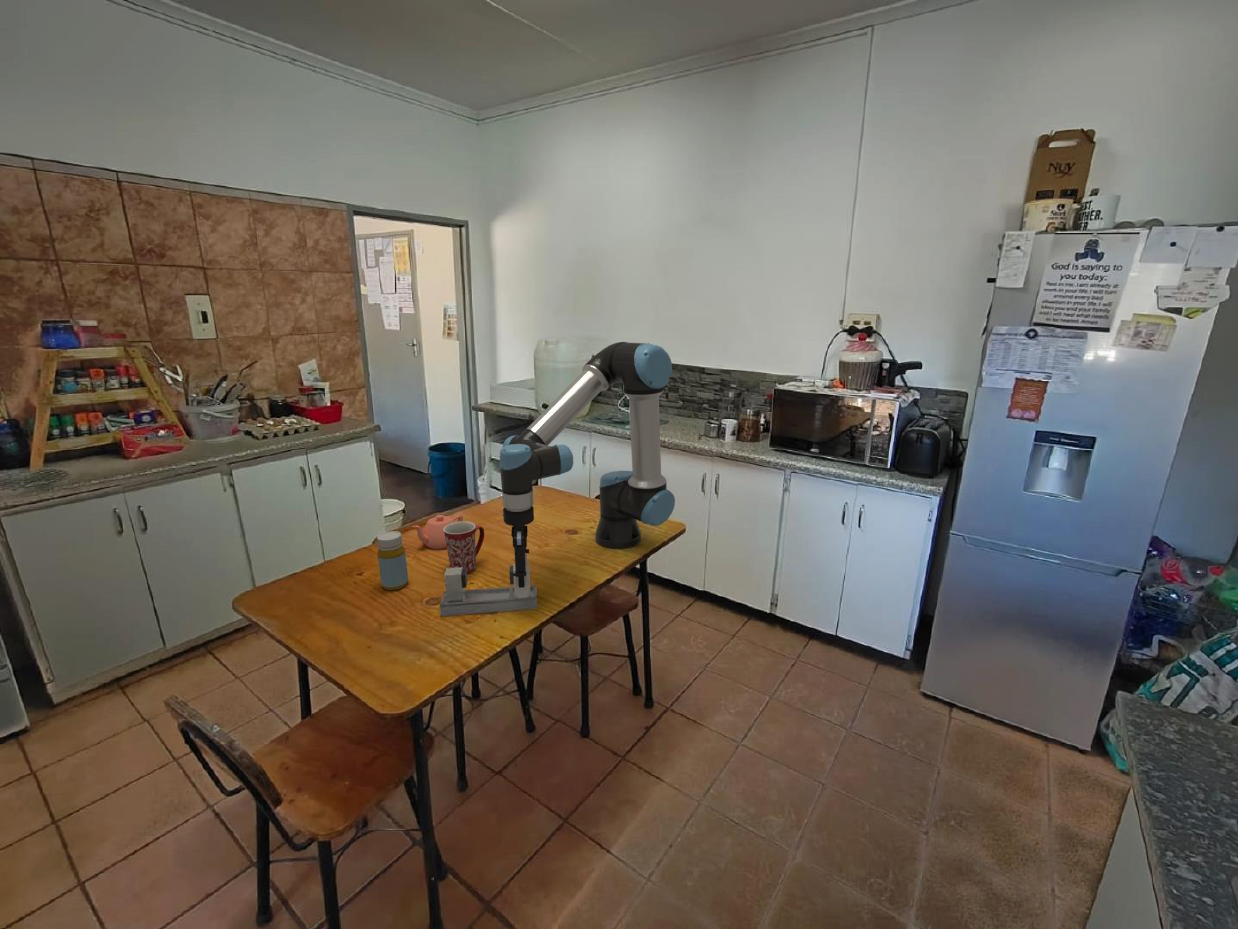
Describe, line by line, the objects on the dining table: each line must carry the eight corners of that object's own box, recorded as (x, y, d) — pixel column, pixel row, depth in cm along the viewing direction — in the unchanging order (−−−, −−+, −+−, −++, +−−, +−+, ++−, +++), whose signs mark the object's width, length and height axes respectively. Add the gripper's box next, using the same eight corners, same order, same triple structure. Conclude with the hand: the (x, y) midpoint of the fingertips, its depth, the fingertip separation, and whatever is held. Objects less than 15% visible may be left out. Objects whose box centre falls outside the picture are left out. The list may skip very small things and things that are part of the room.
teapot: (474, 540, 185) (472, 513, 182) (424, 558, 172) (421, 529, 169) (453, 530, 192) (451, 504, 190) (405, 547, 179) (401, 519, 177)
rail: (536, 595, 150) (535, 559, 147) (537, 608, 143) (535, 571, 140) (444, 602, 146) (441, 566, 143) (440, 616, 140) (436, 578, 137)
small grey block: (530, 590, 147) (529, 562, 145) (530, 597, 144) (529, 569, 141) (511, 591, 147) (509, 564, 144) (510, 599, 143) (509, 571, 141)
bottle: (414, 581, 157) (408, 532, 153) (397, 593, 151) (390, 542, 147) (394, 577, 159) (387, 529, 155) (376, 589, 153) (369, 539, 149)
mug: (459, 580, 158) (455, 536, 154) (441, 570, 164) (436, 527, 160) (495, 564, 167) (492, 522, 164) (476, 555, 173) (473, 515, 169)
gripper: (504, 492, 149) (509, 568, 155) (500, 524, 127) (506, 610, 134) (533, 491, 150) (536, 566, 156) (533, 522, 128) (537, 608, 135)
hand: (522, 586), depth 145 cm, fingers open, 10 cm apart
